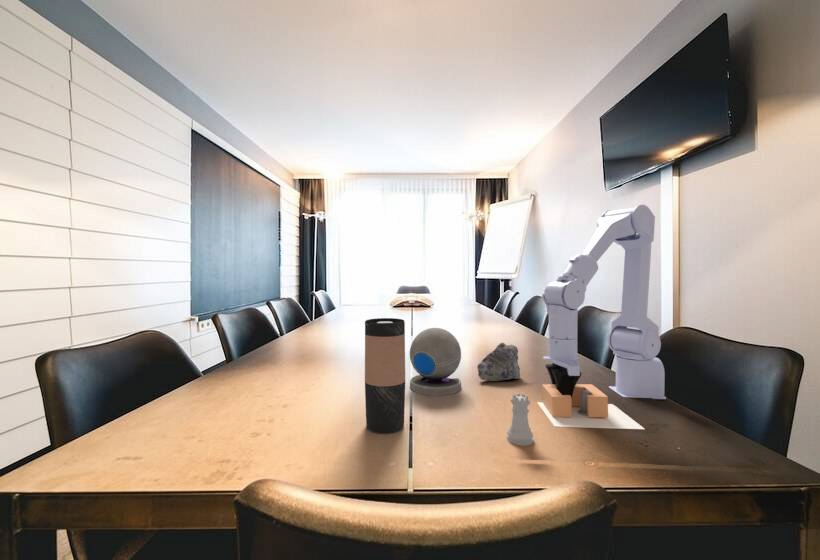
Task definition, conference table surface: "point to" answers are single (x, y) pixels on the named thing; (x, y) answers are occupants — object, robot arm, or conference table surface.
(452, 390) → the webcam
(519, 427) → the rook chess piece
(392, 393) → the travel mug
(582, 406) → the stand
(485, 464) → the conference table surface
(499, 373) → the mineral rock
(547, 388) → the c link
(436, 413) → the conference table surface
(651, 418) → the conference table surface
